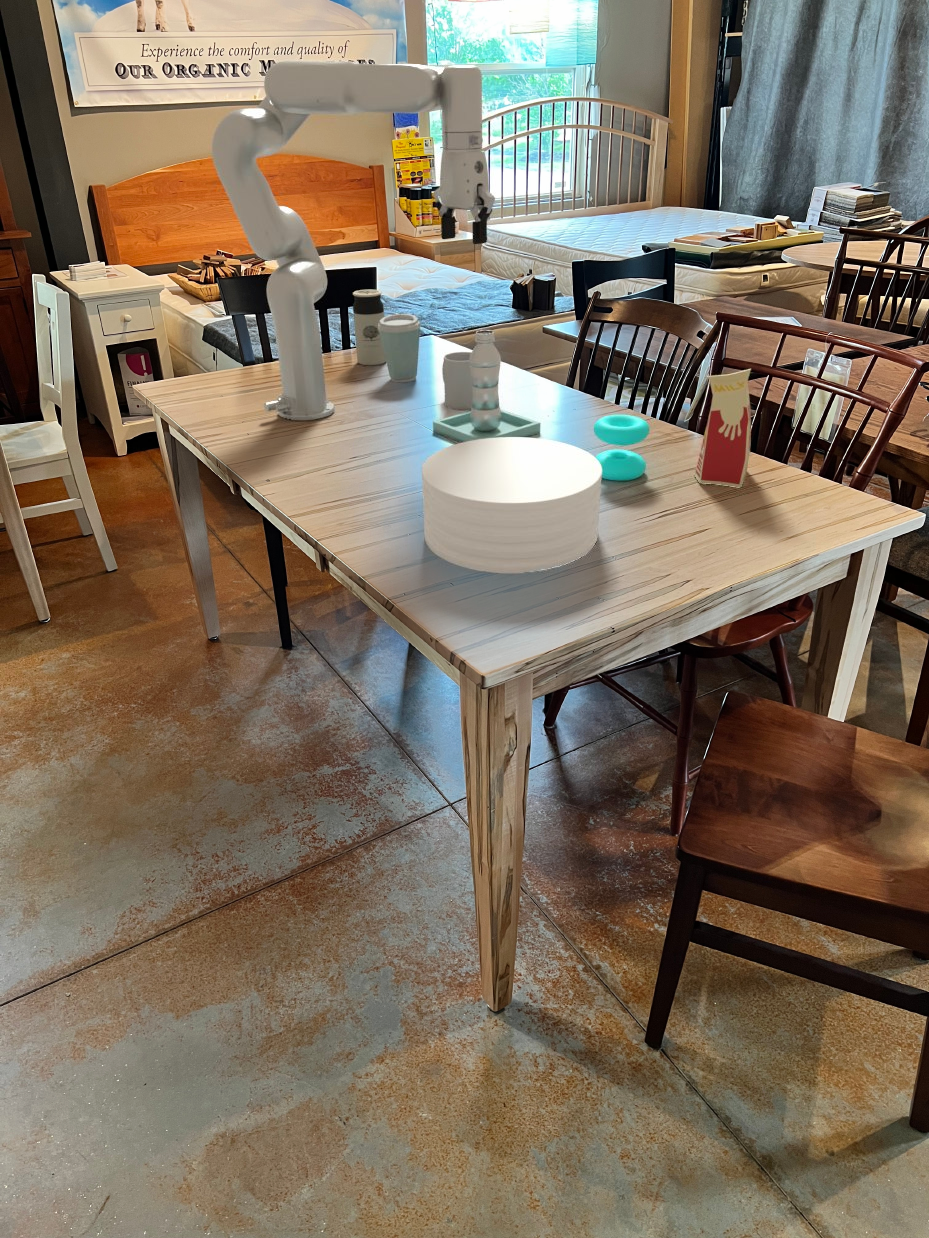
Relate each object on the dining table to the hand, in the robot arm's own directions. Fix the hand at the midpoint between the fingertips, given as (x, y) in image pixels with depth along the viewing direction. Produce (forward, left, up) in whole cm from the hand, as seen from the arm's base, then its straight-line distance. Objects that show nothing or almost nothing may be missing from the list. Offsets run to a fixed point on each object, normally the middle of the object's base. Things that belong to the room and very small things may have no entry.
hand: (463, 241), depth 172 cm
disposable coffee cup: (+8, +35, -36) cm, 51 cm away
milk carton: (+12, -58, -36) cm, 69 cm away
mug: (+6, +10, -36) cm, 38 cm away
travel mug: (+12, +54, -36) cm, 66 cm away
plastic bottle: (-3, -10, -36) cm, 37 cm away
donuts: (0, -44, -36) cm, 57 cm away
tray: (-3, -10, -36) cm, 38 cm away
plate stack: (-32, -50, -37) cm, 70 cm away
